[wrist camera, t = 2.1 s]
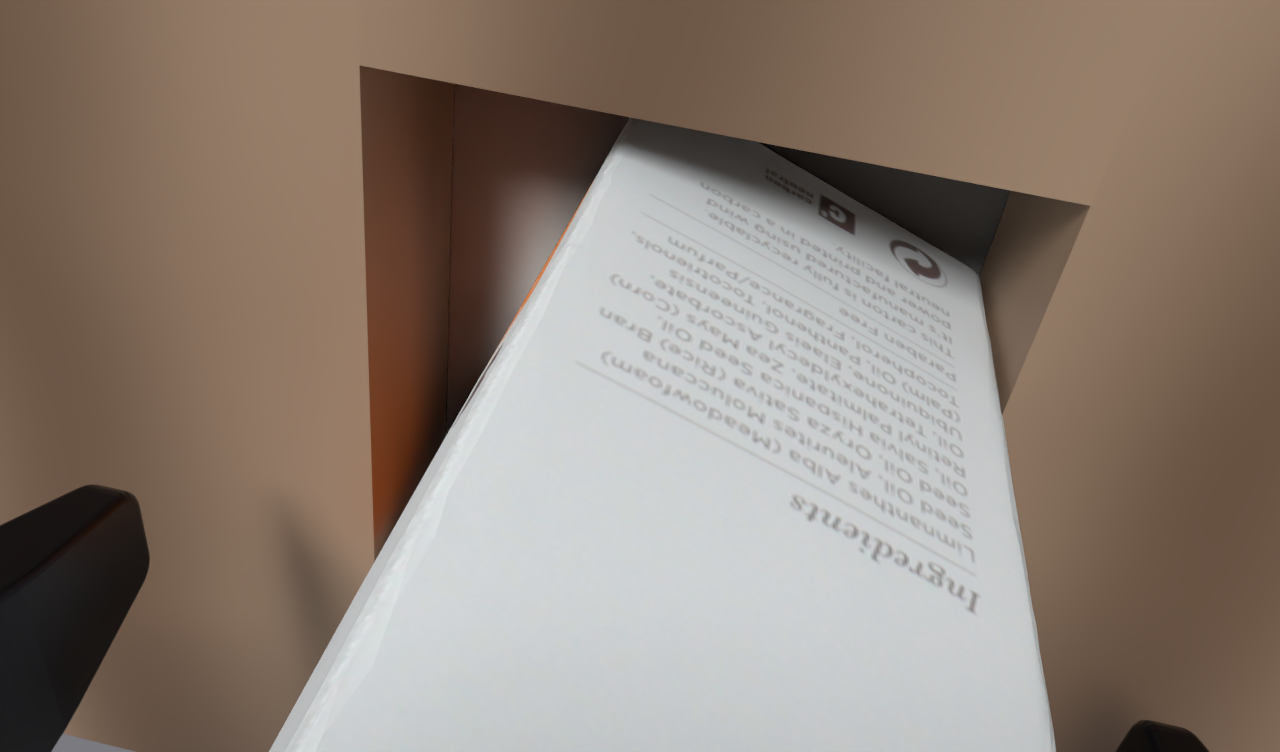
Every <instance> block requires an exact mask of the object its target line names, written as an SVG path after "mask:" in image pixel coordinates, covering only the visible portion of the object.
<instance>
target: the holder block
mask: <svg viewBox="0 0 1280 752" xmlns="http://www.w3.org/2000/svg"><path fill="white" fill-rule="evenodd" d="M454 84H459V85H464V86H470V87H475V88H480V89H485V90H490V91H496V92H501V93H506V94H511V95H516V96H522V97H527V98H532V99H537V100H542V101H548V102H553V103H558V104H563V105H568V106H574V107H579V108H584V109H589V110H594V111H600V112H605V113H610V114H615V115H620V116H626V117H631V118H636V119H641V120H646V121H652V122H657V123H662V124H667V125H672V126H678V127H683V128H688V129H693V130H698V131H703V132H709V133H714V134H719V135H724V136H729V137H735V138H740V139H745V140H750V141H755V142H761V143H766V144H771V145H776V146H781V147H787V148H792V149H797V150H802V151H807V152H813V153H818V154H823V155H828V156H833V157H839V158H844V159H849V160H854V161H859V162H865V163H870V164H875V165H880V166H885V167H891V168H896V169H901V170H906V171H911V172H917V173H922V174H927V175H932V176H937V177H943V178H948V179H953V180H958V181H963V182H969V183H974V184H979V185H984V186H989V187H995V188H1000V189H1005V190H1010V191H1011V192H1010V194H1009V197H1008V200H1007V202H1006V205H1005V208H1004V211H1003V213H1002V216H1001V219H1000V221H999V224H998V227H997V230H996V232H995V235H994V238H993V240H992V243H991V246H990V248H989V251H988V254H987V257H986V259H985V262H984V265H983V267H982V270H981V273H980V276H979V279H980V284H981V289H982V297H983V304H984V310H985V317H986V323H987V328H988V333H989V337H990V342H991V348H992V356H993V363H994V370H995V375H996V381H997V387H998V393H999V400H1000V407H1001V413H1002V417H1003V421H1004V428H1005V435H1006V441H1007V448H1008V455H1009V462H1010V470H1011V477H1012V484H1013V490H1014V496H1015V502H1016V508H1017V514H1018V521H1019V527H1020V532H1021V538H1022V543H1023V549H1024V556H1025V562H1026V568H1027V574H1028V581H1029V588H1030V595H1031V602H1032V607H1033V612H1034V617H1035V621H1036V626H1037V634H1038V642H1039V650H1040V656H1041V661H1042V667H1043V673H1044V678H1045V684H1046V690H1047V695H1048V701H1049V707H1050V713H1051V719H1052V724H1053V730H1054V738H1055V745H1056V752H1115V751H1116V749H1117V748H1118V746H1119V745H1120V743H1121V742H1122V740H1123V739H1124V737H1125V736H1126V734H1127V733H1128V731H1129V730H1130V728H1131V727H1132V726H1133V725H1134V724H1135V723H1136V722H1138V721H1140V720H1152V721H1156V722H1161V723H1165V724H1169V725H1174V726H1178V727H1182V728H1185V729H1187V730H1189V731H1191V732H1192V733H1193V734H1195V735H1196V736H1197V737H1198V738H1199V739H1200V740H1201V742H1202V743H1203V744H1204V745H1205V746H1206V748H1207V749H1208V750H1209V751H1210V752H1280V0H0V525H1V524H3V523H5V522H8V521H10V520H12V519H14V518H16V517H18V516H20V515H22V514H24V513H27V512H29V511H31V510H33V509H35V508H37V507H39V506H41V505H43V504H45V503H48V502H50V501H52V500H54V499H56V498H58V497H60V496H62V495H64V494H67V493H69V492H71V491H73V490H75V489H77V488H80V487H82V486H85V485H91V484H96V485H102V486H106V487H111V488H115V489H120V490H124V491H128V492H130V493H132V494H133V495H134V496H135V497H136V498H137V500H138V502H139V505H140V509H141V514H142V519H143V524H144V529H145V534H146V538H147V543H148V548H149V553H150V564H149V569H148V573H147V576H146V579H145V581H144V583H143V585H142V587H141V589H140V591H139V593H138V595H137V597H136V599H135V601H134V602H133V604H132V606H131V608H130V610H129V612H128V614H127V616H126V618H125V620H124V621H123V623H122V625H121V627H120V629H119V631H118V633H117V635H116V637H115V638H114V640H113V642H112V644H111V646H110V648H109V650H108V652H107V654H106V656H105V657H104V659H103V661H102V663H101V665H100V667H99V669H98V671H97V673H96V675H95V676H94V678H93V680H92V682H91V684H90V686H89V688H88V690H87V692H86V693H85V695H84V697H83V699H82V701H81V703H80V705H79V707H78V708H77V710H76V712H75V714H74V715H73V717H72V719H71V721H70V722H69V724H68V726H67V728H66V729H65V731H64V733H63V734H66V735H70V736H74V737H78V738H82V739H86V740H90V741H94V742H98V743H103V744H107V745H111V746H115V747H119V748H123V749H127V750H131V751H135V752H269V750H270V749H271V747H272V745H273V743H274V741H275V740H276V738H277V736H278V734H279V732H280V731H281V729H282V727H283V725H284V723H285V722H286V720H287V718H288V716H289V714H290V713H291V711H292V709H293V707H294V705H295V704H296V702H297V700H298V698H299V696H300V695H301V693H302V691H303V689H304V687H305V686H306V684H307V682H308V680H309V678H310V677H311V675H312V673H313V671H314V669H315V668H316V666H317V664H318V662H319V660H320V659H321V657H322V655H323V653H324V651H325V650H326V648H327V646H328V644H329V642H330V641H331V639H332V637H333V635H334V633H335V632H336V630H337V628H338V626H339V624H340V623H341V621H342V619H343V617H344V615H345V614H346V612H347V610H348V608H349V606H350V605H351V603H352V601H353V599H354V597H355V596H356V594H357V592H358V590H359V588H360V587H361V585H362V583H363V581H364V580H365V578H366V576H367V574H368V573H369V571H370V569H371V567H372V566H373V564H374V562H375V560H376V558H377V557H378V555H379V553H380V551H381V550H382V548H383V546H384V544H385V543H386V541H387V539H388V537H389V536H390V534H391V532H392V530H393V529H394V527H395V525H396V523H397V522H398V520H399V518H400V516H401V515H402V513H403V511H404V509H405V507H406V506H407V504H408V502H409V500H410V499H411V497H412V495H413V493H414V492H415V490H416V488H417V486H418V485H419V483H420V481H421V479H422V478H423V476H424V474H425V472H426V471H427V469H428V467H429V465H430V464H431V462H432V460H433V458H434V456H435V455H436V453H437V451H438V449H439V448H440V446H441V444H442V442H443V441H444V439H445V437H446V401H447V360H448V318H449V277H450V235H451V194H452V152H453V111H454Z"/></svg>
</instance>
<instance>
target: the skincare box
mask: <svg viewBox="0 0 1280 752" xmlns="http://www.w3.org/2000/svg"><path fill="white" fill-rule="evenodd" d="M269 752H1056V745H1055V738H1054V730H1053V724H1052V719H1051V713H1050V707H1049V701H1048V695H1047V690H1046V684H1045V678H1044V673H1043V667H1042V661H1041V656H1040V650H1039V642H1038V634H1037V626H1036V621H1035V617H1034V612H1033V607H1032V602H1031V595H1030V588H1029V581H1028V574H1027V568H1026V562H1025V556H1024V549H1023V543H1022V538H1021V532H1020V527H1019V521H1018V514H1017V508H1016V502H1015V496H1014V490H1013V484H1012V477H1011V470H1010V462H1009V455H1008V448H1007V441H1006V435H1005V428H1004V421H1003V417H1002V413H1001V407H1000V400H999V393H998V387H997V381H996V375H995V370H994V363H993V356H992V348H991V342H990V337H989V333H988V328H987V323H986V317H985V310H984V304H983V297H982V289H981V284H980V279H979V276H978V275H977V274H976V272H975V271H974V270H973V269H971V268H970V267H968V266H967V265H965V264H963V263H961V262H960V261H958V260H956V259H955V258H953V257H951V256H950V255H948V254H946V253H944V252H943V251H941V250H939V249H938V248H936V247H934V246H933V245H931V244H929V243H927V242H926V241H924V240H922V239H921V238H919V237H917V236H915V235H914V234H912V233H910V232H909V231H907V230H905V229H904V228H902V227H900V226H898V225H897V224H895V223H893V222H892V221H890V220H888V219H887V218H885V217H883V216H882V215H880V214H878V213H877V212H875V211H873V210H871V209H870V208H868V207H866V206H864V205H863V204H861V203H859V202H857V201H855V200H854V199H852V198H850V197H849V196H847V195H845V194H844V193H842V192H840V191H839V190H837V189H835V188H834V187H832V186H830V185H829V184H827V183H825V182H823V181H822V180H820V179H819V178H817V177H815V176H814V175H812V174H810V173H809V172H807V171H805V170H804V169H802V168H800V167H798V166H797V165H795V164H793V163H791V162H789V161H788V160H786V159H784V158H783V157H781V156H779V155H778V154H776V153H775V152H773V151H771V150H770V149H768V148H766V147H765V146H763V145H761V144H760V143H758V142H755V141H750V140H745V139H740V138H735V137H729V136H724V135H719V134H714V133H709V132H703V131H698V130H693V129H688V128H683V127H678V126H672V125H667V124H662V123H657V122H652V121H646V120H641V119H636V118H631V117H630V118H629V119H628V121H627V123H626V124H625V126H624V128H623V129H622V131H621V133H620V135H619V136H618V138H617V140H616V141H615V143H614V145H613V146H612V148H611V150H610V152H609V154H608V156H607V157H606V159H605V161H604V163H603V165H602V167H601V169H600V170H599V172H598V174H597V176H596V177H595V179H594V181H593V182H592V184H591V186H590V187H589V189H588V191H587V193H586V194H585V196H584V198H583V199H582V201H581V203H580V205H579V206H578V208H577V210H576V212H575V213H574V215H573V217H572V218H571V220H570V222H569V224H568V225H567V227H566V229H565V231H564V232H563V234H562V236H561V237H560V239H559V241H558V243H557V244H556V246H555V248H554V250H553V251H552V253H551V255H550V256H549V258H548V260H547V262H546V263H545V265H544V267H543V269H542V270H541V272H540V274H539V276H538V277H537V279H536V281H535V283H534V284H533V286H532V288H531V290H530V291H529V293H528V295H527V297H526V298H525V300H524V302H523V304H522V305H521V307H520V309H519V311H518V312H517V314H516V316H515V318H514V319H513V321H512V323H511V325H510V326H509V328H508V330H507V331H506V333H505V335H504V337H503V338H502V340H501V342H500V344H499V345H498V347H497V349H496V350H495V352H494V354H493V356H492V357H491V359H490V361H489V362H488V364H487V366H486V368H485V369H484V371H483V373H482V374H481V376H480V377H479V379H478V381H477V383H476V384H475V386H474V388H473V390H472V391H471V393H470V395H469V397H468V398H467V400H466V402H465V404H464V406H463V407H462V409H461V411H460V413H459V414H458V416H457V418H456V420H455V421H454V423H453V425H452V427H451V428H450V430H449V432H448V434H447V435H446V437H445V439H444V441H443V442H442V444H441V446H440V448H439V449H438V451H437V453H436V455H435V456H434V458H433V460H432V462H431V464H430V465H429V467H428V469H427V471H426V472H425V474H424V476H423V478H422V479H421V481H420V483H419V485H418V486H417V488H416V490H415V492H414V493H413V495H412V497H411V499H410V500H409V502H408V504H407V506H406V507H405V509H404V511H403V513H402V515H401V516H400V518H399V520H398V522H397V523H396V525H395V527H394V529H393V530H392V532H391V534H390V536H389V537H388V539H387V541H386V543H385V544H384V546H383V548H382V550H381V551H380V553H379V555H378V557H377V558H376V560H375V562H374V564H373V566H372V567H371V569H370V571H369V573H368V574H367V576H366V578H365V580H364V581H363V583H362V585H361V587H360V588H359V590H358V592H357V594H356V596H355V597H354V599H353V601H352V603H351V605H350V606H349V608H348V610H347V612H346V614H345V615H344V617H343V619H342V621H341V623H340V624H339V626H338V628H337V630H336V632H335V633H334V635H333V637H332V639H331V641H330V642H329V644H328V646H327V648H326V650H325V651H324V653H323V655H322V657H321V659H320V660H319V662H318V664H317V666H316V668H315V669H314V671H313V673H312V675H311V677H310V678H309V680H308V682H307V684H306V686H305V687H304V689H303V691H302V693H301V695H300V696H299V698H298V700H297V702H296V704H295V705H294V707H293V709H292V711H291V713H290V714H289V716H288V718H287V720H286V722H285V723H284V725H283V727H282V729H281V731H280V732H279V734H278V736H277V738H276V740H275V741H274V743H273V745H272V747H271V749H270V750H269Z"/></svg>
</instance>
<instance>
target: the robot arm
mask: <svg viewBox="0 0 1280 752" xmlns="http://www.w3.org/2000/svg"><path fill="white" fill-rule="evenodd" d="M149 564H150V553H149V548H148V543H147V538H146V534H145V529H144V524H143V519H142V514H141V509H140V505H139V502H138V500H137V498H136V497H135V496H134V495H133V494H132V493H130V492H128V491H124V490H120V489H115V488H111V487H106V486H102V485H96V484H91V485H85V486H82V487H80V488H77V489H75V490H73V491H71V492H69V493H67V494H64V495H62V496H60V497H58V498H56V499H54V500H52V501H50V502H48V503H45V504H43V505H41V506H39V507H37V508H35V509H33V510H31V511H29V512H27V513H24V514H22V515H20V516H18V517H16V518H14V519H12V520H10V521H8V522H5V523H3V524H1V525H0V752H51V751H52V750H53V748H54V747H55V745H56V744H57V742H58V740H59V739H60V737H61V736H62V734H63V733H64V731H65V729H66V728H67V726H68V724H69V722H70V721H71V719H72V717H73V715H74V714H75V712H76V710H77V708H78V707H79V705H80V703H81V701H82V699H83V697H84V695H85V693H86V692H87V690H88V688H89V686H90V684H91V682H92V680H93V678H94V676H95V675H96V673H97V671H98V669H99V667H100V665H101V663H102V661H103V659H104V657H105V656H106V654H107V652H108V650H109V648H110V646H111V644H112V642H113V640H114V638H115V637H116V635H117V633H118V631H119V629H120V627H121V625H122V623H123V621H124V620H125V618H126V616H127V614H128V612H129V610H130V608H131V606H132V604H133V602H134V601H135V599H136V597H137V595H138V593H139V591H140V589H141V587H142V585H143V583H144V581H145V579H146V576H147V573H148V569H149ZM1115 752H1210V751H1209V750H1208V749H1207V748H1206V746H1205V745H1204V744H1203V743H1202V742H1201V740H1200V739H1199V738H1198V737H1197V736H1196V735H1195V734H1193V733H1192V732H1191V731H1189V730H1187V729H1185V728H1182V727H1178V726H1174V725H1169V724H1165V723H1161V722H1156V721H1152V720H1140V721H1138V722H1136V723H1135V724H1134V725H1133V726H1132V727H1131V728H1130V730H1129V731H1128V733H1127V734H1126V736H1125V737H1124V739H1123V740H1122V742H1121V743H1120V745H1119V746H1118V748H1117V749H1116V751H1115Z"/></svg>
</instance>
